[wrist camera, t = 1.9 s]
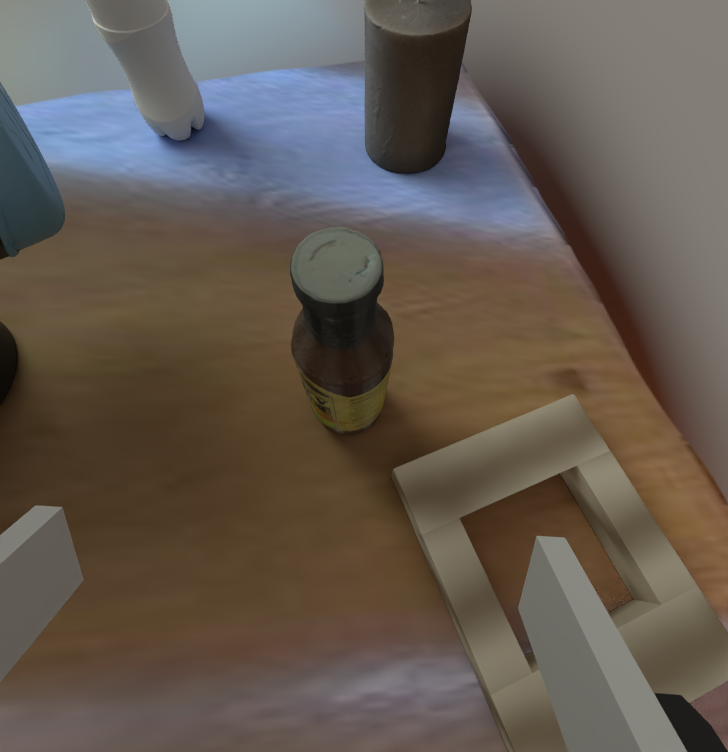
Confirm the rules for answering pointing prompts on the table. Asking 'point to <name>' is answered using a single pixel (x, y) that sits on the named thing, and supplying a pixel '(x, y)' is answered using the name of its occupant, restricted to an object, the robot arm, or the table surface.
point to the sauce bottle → (341, 328)
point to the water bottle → (151, 63)
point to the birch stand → (613, 529)
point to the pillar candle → (411, 78)
